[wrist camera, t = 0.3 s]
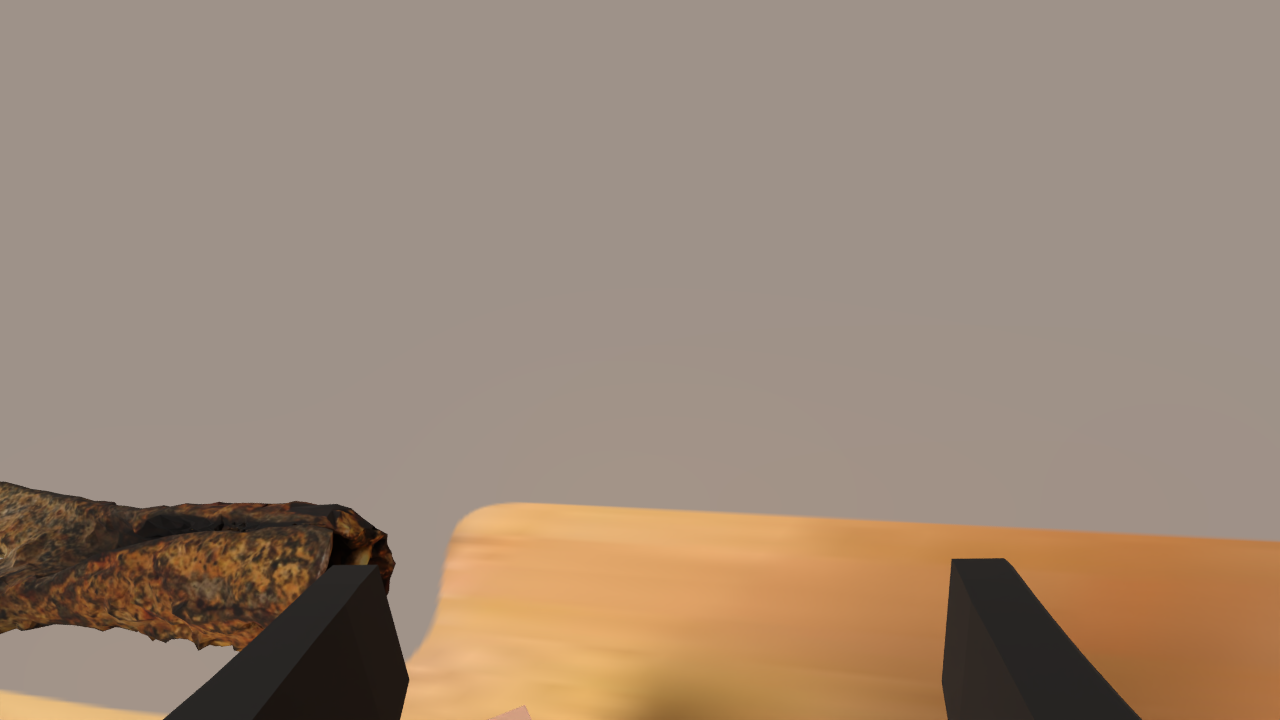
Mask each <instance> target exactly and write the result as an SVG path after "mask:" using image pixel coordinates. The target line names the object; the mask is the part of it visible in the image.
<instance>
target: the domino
mask: <svg viewBox="0 0 1280 720" xmlns="http://www.w3.org/2000/svg"><path fill="white" fill-rule="evenodd" d="M488 720H531V717H530V715H529V713H528V710H527V708H526V706H525V705H523V706H521V707H518V708H516V709H513V710H511V711H508V712H506V713H503V714H501V715H498V716H496V717H493V718H491V719H488Z"/></svg>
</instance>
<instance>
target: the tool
mask: <svg viewBox="0 0 1280 720" xmlns="http://www.w3.org/2000/svg"><path fill="white" fill-rule="evenodd" d="M0 557H1V558H3V559H1V560H0V634H2V633H5V632H7V631H10V630H13V629H16V628H17V629H19V630H21V631H23V630H31V629H35V628H40V627H45V626H49V625H53V624H63V625H77V626H83V627H89V628H95V629H98V630H100V631H106V630H108V629H111V628H114V627H120V628H124V629H128V630H132V631H135V632H138V631H139V632H140V633H142V634H145V635H147V636H149V638H150V639H151V640H152V641H154V640H155V639H157V640H160V641H162V642H165V643H166V642H167V641H169V640H171V639H179V638H181V639H188V640H190V641H192V642H194V643H195V645H196V647H197V649H198V650H201V649H202V648H204V647H206V646H208V645H213V646H221V647H222V646H229V645H233V649H234V650H235V651H239V652H240V651H241V650H242V649H244V648H245V647H246V646H247V645H248V644H249V643H250V642H251V641H252V640H253V639H254V638H255V637H257V636H258V635H259V634H260V633H261V632H262V631H263V630H264V629H265V628H266V627H267V626H268V625H269V624H270V623H271V622H272V621H274V620H275V619H276V618H277V617H278V616H279V615H280V614H281V613H282V612H283V611H284V610H285V609H286V608H287V607H288V606H289V605H290V604H291V603H293V602H294V601H295V600H296V599H297V598H298V597H299V596H300V595H301V594H302V593H303V592H304V591H305V590H306V589H307V588H308V587H309V586H311V585H312V584H313V583H314V582H315V581H316V580H317V579H318V578H319V577H320V576H321V575H323V574H324V573H325V572H326V571H327V570H328V569H329V568H330V567H332V566H333V565H378V567H379V571H380V574H381V578H382V582H383V585H384V589H385V593H386V596H387V594H388V592H389V584H390V577H391V575H392V572H393V569H394V566H395V564H396V563H395V562H394V560H393V557H392V553H391V550H390V549H389V547H388V545H387V534H386V533H384V532H382V531H380V530H378V529H376V528H375V527H374V526H373V525H371V524H370V523H369V522H367V521H366V520H365V519H363V518H362V517H361V516H360V515H358V514H357V513H356V512H355V511H354V510H352V509H351V508H348V507H344V506H341V505H338V504H332V505H331V504H329V505H316V504H312V503H307V502H299V501H294V502H289V503H283V504H264V503H263V504H262V503H222V502H217V503H213V504H189V503H186V504H181V505H176V506H172V507H169V506H164V505H163V506H157V507H150V508H143V509H142V508H141V509H140V508H135V507H129V506H118V505H116V503H115V502H107V501H92V500H89V499H86V498H82V497H76V496H70V495H62V494H57V493H53V492H49V491H41V490H34V489H29V488H26V487H23V486H19V485H15V484H12V483H8V482H0Z"/></svg>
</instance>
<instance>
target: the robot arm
mask: <svg viewBox="0 0 1280 720" xmlns="http://www.w3.org/2000/svg"><path fill="white" fill-rule="evenodd" d="M408 683H409V677H408V673H407V669H406V666H405V662H404V659H403V655H402V651H401V647H400V644H399V640H398V636H397V633H396V629H395V625H394V622H393V618H392V614H391V611H390V607H389V604H388V600H387V596H386V593H385V589H384V585H383V582H382V578H381V574H380V571H379V567H378V565H333V566H332V567H330V568H329V569H328V570H327V571H326V572H325V573H324V574H323V575H321V576H320V577H319V578H318V579H317V580H316V581H315V582H314V583H313V584H312V585H311V586H309V587H308V588H307V589H306V590H305V591H304V592H303V593H302V594H301V595H300V596H299V597H298V598H297V599H296V600H295V601H294V602H293V603H291V604H290V605H289V606H288V607H287V608H286V609H285V610H284V611H283V612H282V613H281V614H280V615H279V616H278V617H277V618H276V619H275V620H274V621H272V622H271V623H270V624H269V625H268V626H267V627H266V628H265V629H264V630H263V631H262V632H261V633H260V634H259V635H258V636H257V637H255V638H254V639H253V640H252V641H251V642H250V643H249V644H248V645H247V646H246V647H245V648H244V649H242V650H241V651H240V652H239V653H238V654H237V655H236V656H235V657H234V658H233V659H232V660H231V661H230V662H228V663H227V664H226V665H225V666H224V667H223V668H222V669H221V670H220V671H219V672H218V673H217V674H215V675H214V676H213V677H212V678H211V679H210V680H209V681H208V682H206V683H205V684H204V685H203V686H202V687H201V688H199V689H198V690H197V691H196V692H195V693H194V694H192V695H191V696H190V697H189V698H188V699H187V700H185V701H184V702H183V703H182V704H181V705H180V706H178V707H177V708H176V709H175V710H174V711H172V712H171V713H170V714H169V715H168V716H167V717H165V718H164V719H163V720H400V718H401V713H402V709H403V705H404V700H405V696H406V692H407V688H408ZM942 686H943V693H944V699H945V705H946V711H947V717H948V720H1142V719H1141V718H1140V717H1139V716H1138V715H1137V714H1136V713H1135V712H1134V711H1133V710H1132V709H1131V708H1130V706H1129V705H1128V704H1127V703H1126V702H1125V701H1124V700H1123V699H1122V698H1121V697H1120V696H1119V694H1118V693H1117V692H1116V691H1115V690H1114V689H1113V688H1112V687H1111V685H1110V684H1109V683H1108V682H1107V681H1106V680H1105V679H1104V678H1103V676H1102V675H1101V674H1100V673H1099V672H1098V671H1097V670H1096V669H1095V668H1094V666H1093V665H1092V664H1091V663H1090V662H1089V661H1088V660H1087V658H1086V657H1085V656H1084V655H1083V654H1082V653H1081V651H1080V650H1079V649H1078V648H1077V647H1076V646H1075V644H1074V643H1073V642H1072V641H1071V640H1070V638H1069V637H1068V636H1067V635H1066V633H1065V632H1064V631H1063V630H1062V629H1061V627H1060V626H1059V625H1058V624H1057V623H1056V621H1055V620H1054V619H1053V618H1052V616H1051V615H1050V614H1049V613H1048V611H1047V610H1046V609H1045V608H1044V606H1043V605H1042V604H1041V603H1040V601H1039V600H1038V599H1037V597H1036V596H1035V595H1034V594H1033V592H1032V591H1031V590H1030V588H1029V587H1028V586H1027V584H1026V583H1025V582H1024V581H1023V579H1022V578H1021V577H1020V575H1019V574H1018V573H1017V571H1016V570H1015V569H1014V567H1013V566H1012V565H1011V564H1010V563H1009V562H1008V561H1007V560H1005V559H1004V558H992V559H952V562H951V574H950V586H949V599H948V611H947V623H946V636H945V648H944V660H943V673H942Z"/></svg>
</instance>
